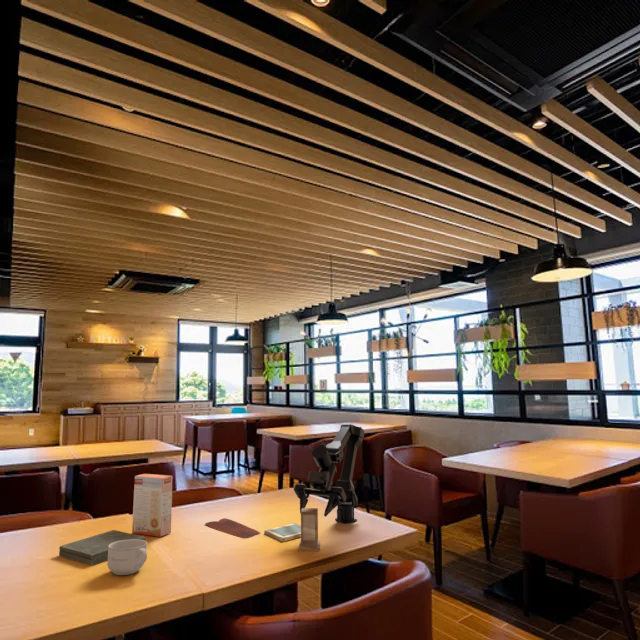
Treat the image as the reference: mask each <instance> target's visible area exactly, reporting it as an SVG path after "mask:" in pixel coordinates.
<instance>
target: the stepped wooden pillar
mask: <svg viewBox="0 0 640 640" xmlns="http://www.w3.org/2000/svg"><path fill="white" fill-rule="evenodd" d="M318 511H319V510H318V507H317V508H315V507H314V508H313V507H311V508H310V507H309V508H306V507H305V508H302V510H301V513H300V525H301V537H300V541H299V545H298V552H312V551H313V552H319V551H321V540H319V518H318V517H319V516H318V515H319V512H318Z"/></svg>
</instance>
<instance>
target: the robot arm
mask: <svg viewBox="0 0 640 640" xmlns="http://www.w3.org/2000/svg"><path fill="white" fill-rule="evenodd" d="M364 438H365V430H364V429H363V428H362V427H361V426H357V425H354V424H352V423H342V424H341V425H340V428H339V430H338V432H337V433H336V435H335V438H334V439H332V441H331V442H330V443H327V444H325V443H320V444H319V445H318V446H317V447H315V448H314V449H313V450H312V452H311V455H312V457H313V459H314V462H315V464H316V466H317V467H318V468H319V470H318V471H309V473H308V479H307V480H308V482H310V485H311V488H308V486H307V484H306V483H296V484H295V485H294V487H293V491H294V494H295V495H296V496H297V498H298V499H299V513H300V514H301V510H302V508H306V507H307V504H308V502H309V498H310V495H313V496H320V497H328V500H327V504H326V507H325V509H324V513H323V516H324V518H325V517H327V516H328V515H329V514H330V513H331V512H332V511H333V510H334V509H335V508H337V509H336V518H334V520H335V521H336V522H340V523H343V524H348V523H353V522H357V521H358V519H357V518H355V507H358V500H359V498H358V496H357V494H356V492H355V486H354V484H353V478H354V471H355V470H354V469H355V464H356V460H357V459H356V457H357V452H358V448H359V447H360V446H361V445H362V444H363V440H364ZM344 449H345V452H344V451H343V450H344ZM342 460H343V462H342V468H341V474H340V478H339V479H337V480H335V482H334V484H333V480H334V476H335V474H337V466H336V464H337V463H338V464H339V463H341V461H342ZM335 463H336V464H335ZM333 485H334V486H333ZM330 488H331V489H330Z"/></svg>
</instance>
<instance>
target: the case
mask: <svg viewBox="0 0 640 640" xmlns="http://www.w3.org/2000/svg"><path fill="white" fill-rule="evenodd" d="M131 539H138V540H145V541H146V537H145V536H143V535H139V534H135V533H130V532H129V533H128V532H126V531H125V532H124V531H119V530H115V529H112V530H109V531H105V532H102V533H99V534H96V535H92V536H90V537H85V538H83V539H82V538H81V539H79V540H75V541H72V542H68V543H65V544H63V545H60V546H59V548H58V550H59V551H58V552H59V553H58V555H59V557H62V558H64V559H65V558H66V559H69V560H71V561H75V562H79V563H82V564H85V565H89V566H93V565H98V564H101V563H103V562H106V561H108V546H109V544H111V543H114V542H117V541H122V540H131Z"/></svg>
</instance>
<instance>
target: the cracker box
mask: <svg viewBox="0 0 640 640" xmlns="http://www.w3.org/2000/svg"><path fill="white" fill-rule="evenodd" d="M173 480H174V479H173V475H168V474H166V475H165V474H153V473H152V474H151V473H142V474H138V475H134V482H133V483H134V486H133V487H134V489H133V502H132V503H133V507H132V527H131V528H132V529H131V532H132V533H131V534H135V535H142V536H143V535H144V536H151V537H157V538H162V537H163V536H166V535H169V534H171V532H172V510H173V508H172V506H173V505H172V504H173Z"/></svg>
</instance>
